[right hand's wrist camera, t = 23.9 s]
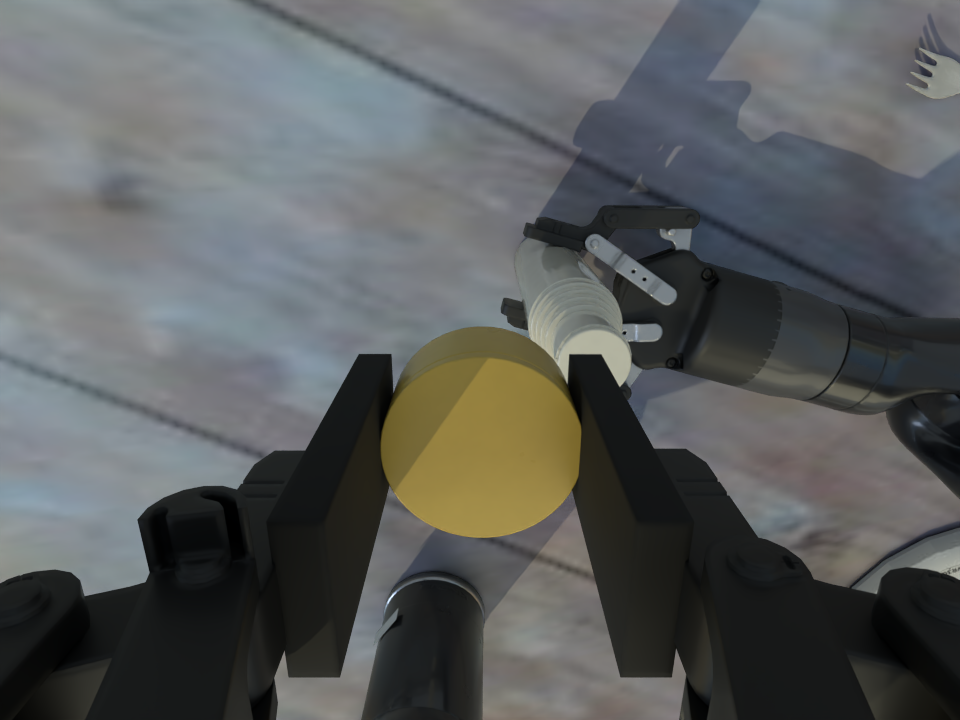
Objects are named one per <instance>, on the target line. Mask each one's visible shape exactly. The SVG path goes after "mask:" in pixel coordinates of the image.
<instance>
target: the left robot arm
mask: <svg viewBox="0 0 960 720" xmlns="http://www.w3.org/2000/svg"><path fill="white" fill-rule="evenodd" d="M699 221H700V216H699V213H698V212H697V211H695V210H693V209H690V208H686V207H683V206H626V205H606V206H603V207H601V208H600V210H599V211H598V215H597V216H596V217H595V219H594V220H593V221H592V223H591V224H589V225H588V226H585V227H579V226H575V225H572V224H568V223H565V222H561V221H558V220H554V219H551V218H547V217H540V218H537V219H536V223H535V225H534V224H531V223H526V225H525V228H524V232H523V234H524V236H526V237H528V238H531V239H535V240H538V241H542V242H545V243H549V244H552V245H556V246H559V247H564V248H567V249H570V250H574V251H577V252H580V251H581V249H583V250H587V251H589V252H590V253H592V254H593V255H595V256H596V257H597V258H599V259H600V260H602V261H603V262H604V263H606V264H607V265H609V266H610V267H611V268H613V269H614V270H615V271H617V274H616V277H615V280H614V285H613V296H614V297H615V299H616V301H617V303H618V305H619V308H620V311H621V314H622V322H623V327H622V328H623V331H622V335H623V336H624V337H625V339H626V340H627V342H628V344H629V346H630V350H631V354H632V355H631V369H630V372H629V375H628V377H627V379H626V380H625V381H624V383H623V384H622V385H621V386H620V389H621V390H622V392H623V394H624V396H625V398H626V399H627V400H628V399H629V398H630V397H631V389H630V387H631V385H632V384H633V383H634V381H635V380H636V379H637V377H638V376H639V374H640V373H641V372H642V370H643V369H645V370H649V369H653V368H668V369H671V370H675V371H679V372H682V373H686V374H690V375H694V376H697V377H701V378H705V379H708V380H712V381H716V382H720V383H723V384H727V385H731V386H735V387H738V388H742V389H746V390H749V391H753V392H757V393H761V394H765V395H770V396H776V397H785V398H792V399H797V400H801V401H805V402H809V403H812V404H816V405H820V406H824V407H827V408H831V409H834V410H838V411H842V412H846V413H850V414H856V415H874V414H878V413H881V412H884V411H886V416H887V420H888V423H889V425H890V427H891V430H892V431H893V433H894V434H895V436H896V437H897V438H898V440H899V441H900V442H901V443H902V444H903V445H904V446H905V447H906V448H907V449H908V450H909V451H910V452H911V453H912V454H913V455H914V456H916V457H917V458H918V459H919V460H920V461H921V462H922V463H923V464H924V465H925V466H927V467H928V468H929V469H930V470H931V471H932V472H933V473H934V474H935V475H936V476H937V477H938V478H939V479H940V480H941V481H942V482H943V483H944V484H945V485H946V486H947V487H948V488H949V489H950V490H951V491H952V492H953V493H954V494H955V495H956V496H957V497H958V498H959V499H960V318H916V317H902V318H884V317H880V316H877V315H874V314H870V313H867V312H863V311H860V310H856V309H853V308H849V307H845V306H842V305H838V304H835V303H832V302H829V301H826V300H824V299H822V298H820V297H818V296H815V295H813V294H811V293H809V292H806V291H803V290H800V289H796V288H793V287H790V286H787V285H786V284H784V283H781V282H777V281H769V280H765V279H762V278H758V277H755V276H751V275H747V274H744V273H740V272H737V271H733V270H730V269H726V268H723V267H719V266H716V265H712V264H709V263H705V262H703V261H701V260H699V259H698V258H697V257H696V255H695V254H694V253H692V252H691V251H690V243H691V235H692V228H694V227H696V226H697V225H698V223H699ZM615 229H656V232H657V234H658V236H660V237H661V238H663V239H665V240H669V241H670V242H671V244H672V248H670V249H667V250H664V251H662V252H659V253H656V254H653V255H650V256H648V257H645V258H642V259H639V260H634V259H633V258H632V257H630V256H629V255H627V254H626V253H625V252H623V251H622V250H620V249H619V248H618V247H616V246H615V245H613V244H612V243H611V242H609V241H608V240H607V239H608V238H609V237H610V235H611V234H612V233H613V232H614V230H615ZM501 313H502V314H504V315H506V316H507V320H508V323H510V324H511V325H512V326H514V327H517V328H521V329H525V330H528V326H527V321H526V317H525V312H524V308H523V303H522V302H520V301H517V300H513V299H509V298H504V299H503V302H502V305H501ZM484 621H485V612H484V605H483V602H482V600H481V597H480V596H479V594H478V593H477V591H476V590H475V589H474V588H473V587H472V586H471V585H470V584H469V583H467V582H466V581H464V580H462V579H461V578H458V577H456V576H454V575H451V574H447V573H441V572H425V573H420V574H416V575H413V576H410V577H408V578H406V579H404V580H403V581H401V582H400V583H399V584H398V585H396V586H395V587H394V589H393V590H392V591H391V593H390V594H389V596H388V598H387V601H386V605H385V610H384V620H383V624H382V627H381V629H380V630H379V631H378V632H377V633H376V637H375V641H374V644H375V643H376V642H377V641H378V640H379V642H378V646H377V651H376V655H375V660H374V664H373V669H372V673H371V678H370V683H369V687H368V692H367V696H366V701H365V705H364V710H363V714H362V719H361V720H482V712H483V629H484ZM373 646H374V645H373Z"/></svg>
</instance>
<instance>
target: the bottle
mask: <svg viewBox="0 0 960 720" xmlns="http://www.w3.org/2000/svg"><path fill="white" fill-rule="evenodd" d="M514 265H515V271H516V276H517V280H518V285H519V289H520V294H521V298H522V303H523V308H524V312H525V317H526V321H527V326H528V330H529V335H530V338H531V340H532V341H533V342H535V343H536V344H538V345H539V346H540V347H542V348H543V349H544V350H545V351H546V352H547V353H548V354H549V355H550V356H551V357H552V358H553V359H554V361H555V362H556V363H557V365H558V366H559V368H560V369H561V371H562V373H563V375H564V377H565V380H566V382H567V383H568V365H569V354H602V356H603V358H604V360H605V361H606V363H607V365H608V367H609V369H610V370H611V372H612V374H613V376H614V378H615V380H616V381H617V383H618V385H619V387H620V386H621V385H622V384H623V383H624V381H625V380H626V379H627V377H628V375H629V372H630V369H631V355H632V354H631V350H630V346H629V344H628V342H627V340H626V339H625V337H624V336H623V335H622V331H623V328H622V327H623V322H622V314H621V311H620V308H619V305H618V303H617V301H616V299H615V297H614V296H613V294H612V293H611V292H610V291H609V289H608V288H607V287H606V286H605V285H604V284H603V282H602V281H601V280H600V279H599V278H598V276H597V275H596V274H595V273H594V272H593V271H592V269H591V268H590V267H589V266H588V265H587V263H586V262H585V261H584V260H583V259H582V258H581V256H580V255H579V254H578V253H577V252H576V251H574V250H570V249H567V248H564V247H559V246H556V245H552V244H549V243H545V242H542V241H538V240H535V239H531V238H526V239H525V240H524V241H523V242H522V243H521V245H520V246H519V248H518V250H517V252H516V255H515V260H514Z"/></svg>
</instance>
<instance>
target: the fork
mask: <svg viewBox="0 0 960 720" xmlns="http://www.w3.org/2000/svg"><path fill="white" fill-rule="evenodd" d="M919 50H921V51H922V52H923V53H925V54H926V55H928V56H929V57H931V58H932V59H934V60H935V61H936V62H937V64H936V65H935V66H932V65H929V64H926V63H923V62H921V61H918V60H914V61H915V62H916V63H918V64H919V65H921V66H922V67H924V68H925V69H927V70H929V71H930V72H931V73H932V77H927V76H923V75H920V74H917V73H914V72H910V73H911V74H913V75H914V76H916V77H917V78H919V79H920V80H922V81H924V82H925V83H927V84H928V88H921V87H918V86H915V85H911V84H909V83H906V85H908V86H909V87H911V88H912V89H914V90H916V91H917V92H919V93H921V94H923V95H925V96H927V97H929V98H932V99H941V98H946V97H950V96H953V95H956V94H959V93H960V63H958V62H957V61H956V60H954V59H952V58H950V57H946V56H942V55H938V54H935V53H933V52H930V51H927V50H925V49H923V48H919Z"/></svg>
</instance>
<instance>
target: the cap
mask: <svg viewBox="0 0 960 720" xmlns="http://www.w3.org/2000/svg"><path fill="white" fill-rule="evenodd" d="M580 445H581V423H580V420H579V417H578V414H577V411H576V408H575V405H574V402H573V399H572V396H571V394H570V391H569V388H568V385H567V382H566V380H565V377H564V375H563V373H562V371H561V369H560V368H559V366H558V365H557V363H556V362H555V361H554V359H553V358H552V357H551V356H550V355H549V354H548V353H547V352H546V351H545V350H544V349H543V348H542V347H540V346H539V345H538V344H536V343H535V342H533V341H532V340H530V339H528V338H527V337H525V336H522V335H520V334H518V333H515V332H512V331H509V330H505V329H501V328H494V327H470V328H463V329H459V330H455V331H452V332H449V333H446V334H444V335H442V336H440V337H438V338H436V339H434V340H432V341H431V342H429V343H428V344H426V345H425V346H424V347H422V348H421V349H420V350H419V351H418V352H417V353H416V354H415V355H414V356H413V357H412V358H411V360H410V361H409V362H408V363H407V365H406V366H405V368H404V370H403V371H402V373H401V375H400V378H399V380H398V382H397V385H396V388H395V391H394V394H393V397H392V400H391V402H390V405H389V408H388V411H387V414H386V417H385V420H384V424H383V427H382V431H381V439H380V451H381V461H382V467H383V470H384V473H385V476H386V479H387V481H388V483H389V485H390V487H391V489H392V490H393V492H394V493H395V495H396V496H397V497H398V499H399V500H400V501H401V502H402V503H403V505H404V506H405V507H406V508H407V509H408V510H409V511H411V512H412V513H413V514H414V515H415V516H417V517H418V518H420V519H421V520H423V521H424V522H426V523H427V524H429V525H431V526H433V527H435V528H437V529H440V530H443V531H446V532H448V533H452V534H456V535H460V536H467V537H480V538H488V537H499V536H504V535H509V534H513V533H516V532H519V531H522V530H524V529H527V528H529V527H531V526H533V525H535V524H537V523H538V522H540V521H542V520H543V519H545V518H546V517H547V516H549V515H550V514H551V513H553V512H554V511H555V510H556V509H557V508H558V507H559V506H560V505H561V504H562V503H563V502H564V500H565V499H566V498H567V496H568V495H569V494H570V492H571V490H572V489H573V487H574V485H575V483H576V481H577V479H578V475H579V461H580Z"/></svg>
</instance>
